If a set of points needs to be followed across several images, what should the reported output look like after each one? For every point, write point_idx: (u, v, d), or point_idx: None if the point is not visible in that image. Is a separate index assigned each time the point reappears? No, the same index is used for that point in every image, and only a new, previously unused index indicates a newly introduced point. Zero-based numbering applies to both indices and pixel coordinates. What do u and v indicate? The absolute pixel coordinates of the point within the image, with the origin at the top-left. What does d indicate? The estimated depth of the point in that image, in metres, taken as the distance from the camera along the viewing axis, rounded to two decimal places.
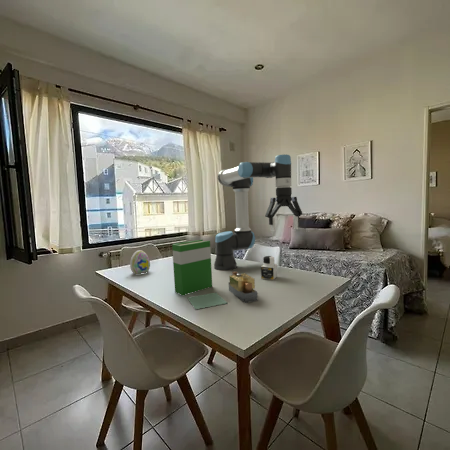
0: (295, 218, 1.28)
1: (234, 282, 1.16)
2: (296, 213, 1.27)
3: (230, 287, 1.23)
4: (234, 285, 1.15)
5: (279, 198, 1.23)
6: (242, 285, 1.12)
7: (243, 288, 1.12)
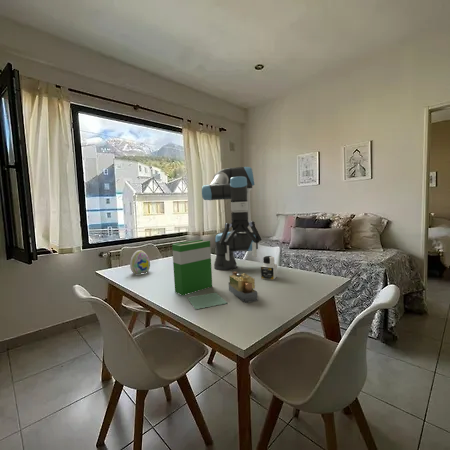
0: (253, 244, 1.17)
1: (234, 282, 1.16)
2: (254, 239, 1.16)
3: (230, 287, 1.23)
4: (234, 285, 1.15)
5: (234, 224, 1.12)
6: (242, 285, 1.12)
7: (243, 288, 1.12)
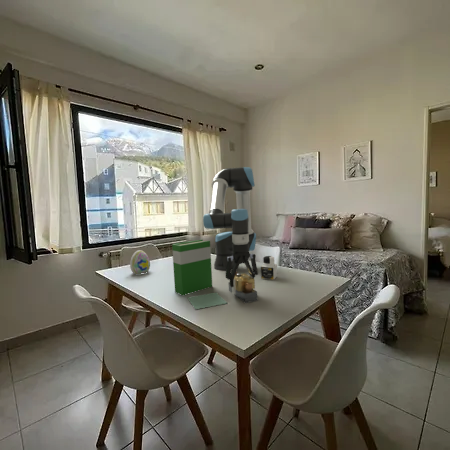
0: None
1: None
2: (251, 273, 1.17)
3: (230, 287, 1.23)
4: None
5: (235, 256, 1.14)
6: (242, 285, 1.12)
7: (243, 288, 1.12)
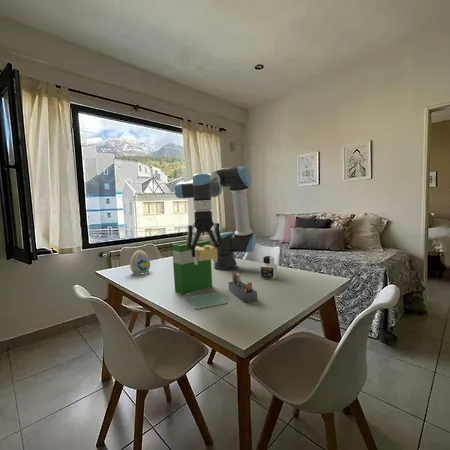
0: None
1: None
2: (215, 243, 1.10)
3: (230, 287, 1.23)
4: None
5: (196, 224, 1.07)
6: (204, 255, 1.05)
7: (205, 258, 1.06)
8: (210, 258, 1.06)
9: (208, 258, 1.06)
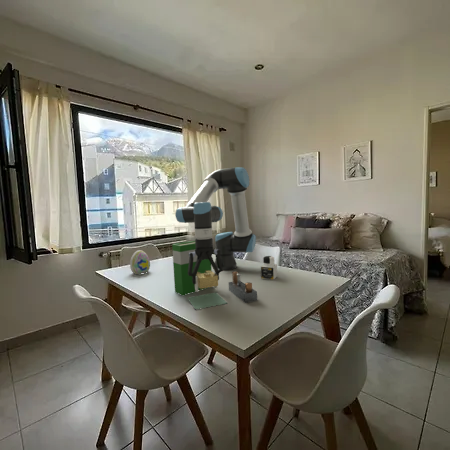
0: None
1: None
2: (215, 269, 1.11)
3: (230, 287, 1.23)
4: None
5: (197, 251, 1.08)
6: (204, 282, 1.06)
7: (205, 285, 1.06)
8: (211, 285, 1.07)
9: (209, 285, 1.07)
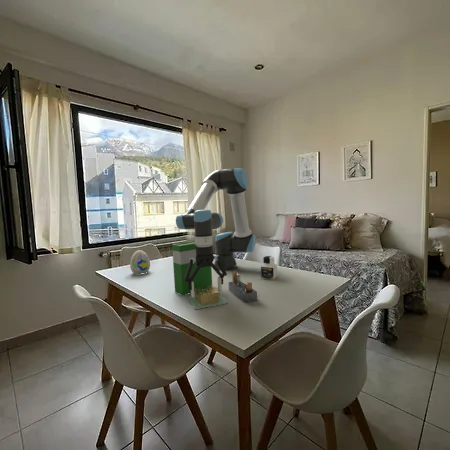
0: (218, 279, 1.13)
1: (197, 295, 1.11)
2: (219, 274, 1.12)
3: (230, 287, 1.23)
4: (198, 299, 1.10)
5: (198, 259, 1.08)
6: (205, 299, 1.07)
7: (206, 302, 1.07)
8: (211, 302, 1.08)
9: (209, 302, 1.08)
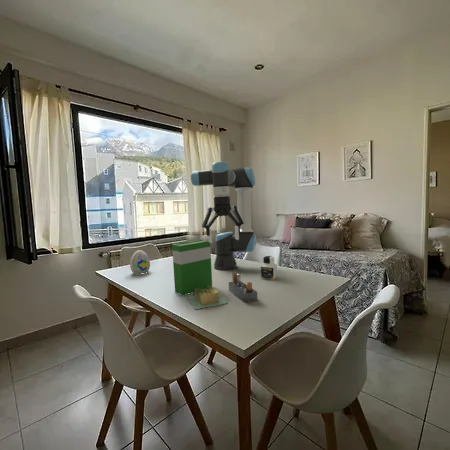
0: (236, 228, 1.22)
1: (197, 295, 1.11)
2: (236, 223, 1.21)
3: (230, 287, 1.23)
4: (198, 299, 1.10)
5: (216, 208, 1.17)
6: (205, 299, 1.07)
7: (206, 302, 1.07)
8: (211, 302, 1.08)
9: (209, 302, 1.08)
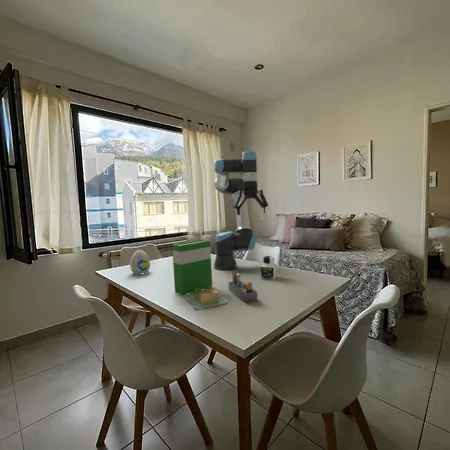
0: (261, 209, 1.40)
1: (197, 295, 1.11)
2: (262, 205, 1.39)
3: (230, 287, 1.23)
4: (198, 299, 1.10)
5: (245, 191, 1.35)
6: (205, 299, 1.07)
7: (206, 302, 1.07)
8: (211, 302, 1.08)
9: (209, 302, 1.08)
